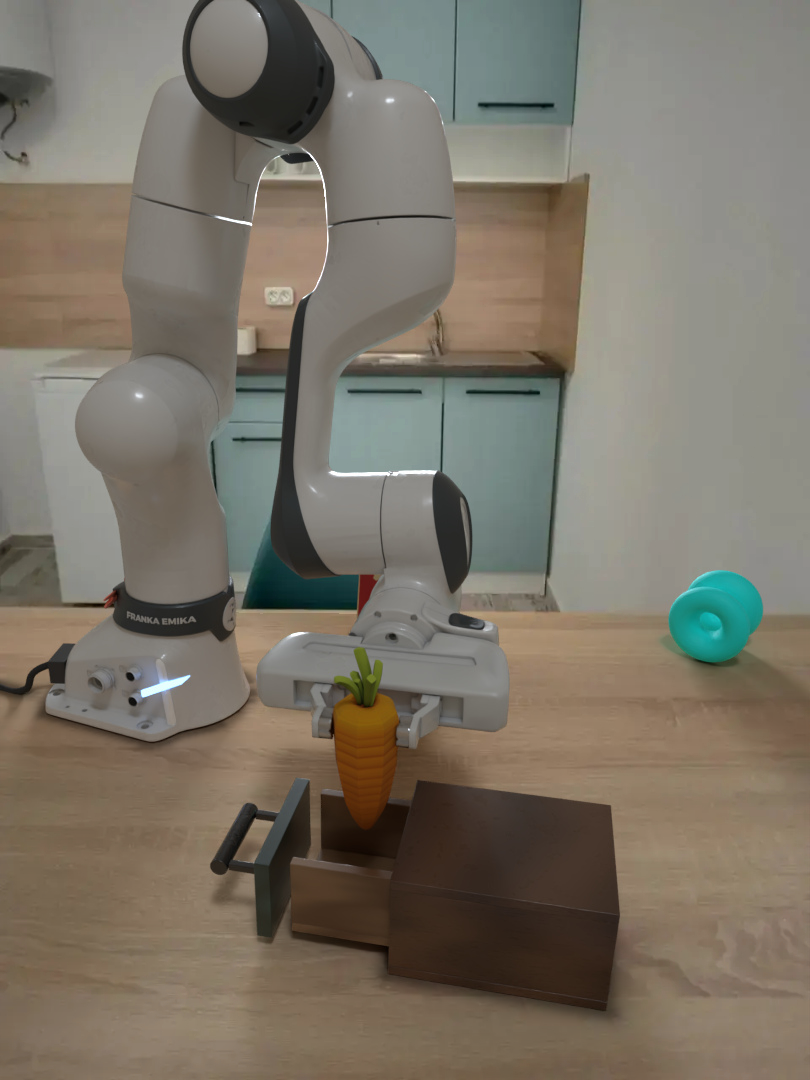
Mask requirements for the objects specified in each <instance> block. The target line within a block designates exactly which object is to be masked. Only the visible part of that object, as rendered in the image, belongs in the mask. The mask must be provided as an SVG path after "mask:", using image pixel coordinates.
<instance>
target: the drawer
mask: <svg viewBox="0 0 810 1080" xmlns="http://www.w3.org/2000/svg"><path fill="white" fill-rule="evenodd" d="M319 795H320V799H319V800H320V846H321V847H320V850H319V853H318V855H317V858H316V859H310V858H307V855H308V853H309V850H310V848H311V846H312V831H311V830H312V829H311V780H310V779H309V778H303V777H295V779H294V781H293V783H292V786H291V787H290V789H289V791H288V793H287V796H286V798H285V800H284V802H283V803H282V806H281V808H280V810H279V812H278V811H271V810H265V809H259V807H258V806H257V805H256V803H253V802H245V803H243V805H242V807H241V808H240V810H239V812H238V814H237V815H236V817H235V819H234V821H233V823H232V824H231V827H230V828H229V829H228V832H227V833H226V835H225V837H224V838H223V841H222V843H221V844H220V845H219V847H218V849H217V851H216V853H215V854H214V856H213V858H212V860H211V861H210V864H209V868H210V871H211V872H212V873H213V874H215V875H217V876H223V875H226V874H227V872H228V871H232V872H237V873H244V874H250V875H253V876H254V877H253V879H254V896H255V898H254V899H255V901H254V902H255V920H256V935H257V937H264V938H268V939H273V937H274V934H275V932H276V929H277V927H278V926H279V922H280V920H281V918H282V915H283V912H284V910H285V908H286V905H287V903H288V901H289V899H290V912H291V913H290V914H291V915H290V916H291V918H290V919H291V931H292V932H297V933H305V934H311V935H317V936H324V937H330V938H335V939H342V940H348V941H354V942H358V943H359V942H360V943H366V944H372V945H378V946H383V947H389V915H390V880H391V876H392V872H393V868H394V865H395V861H396V857H397V854H398V850H399V846H400V842H401V839H402V835H403V831H404V828H405V824H406V820H407V816H408V813H409V809H410V805H411V802H412V799H411V800H410V799H402V798H395V797H389V799H388V801H387V803H386V806H385V808H384V810H383V812H382V813H381V815H380V817H379V818H378V820H377V821H376V823H375V824H374V825H373V826H372V827H371V828H370V829H368V830H364V829H363V828H361V827H359V825H358V824H357V823H356V821H355V820H354V818H353V817H352V815H351V813H350V811H349V809H348V807H347V805H346V802H345V799H344V795H343V791H342V790H336V789H328V788H322V789H321V792H320V794H319ZM255 820H257V821H258V820H259V821H264V822H265V821H266V822H273V824H272V826H271V827H270V830H269V832H268V833H267V836H266V837H265V840H264V842H263V844H262V846H261V848H260V849H259V852H258V853H257V856H256V858H255V859H254V862H253V861H252V862H251V861H244V860H238V859H235V857H236V856H237V853H238V852H239V850H240V848H241V846H242V844H243V842H244V841H245V839H246V837H247V835H248V833H249V831H250V829H251V827H252V825H253V823H254V821H255Z"/></svg>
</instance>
